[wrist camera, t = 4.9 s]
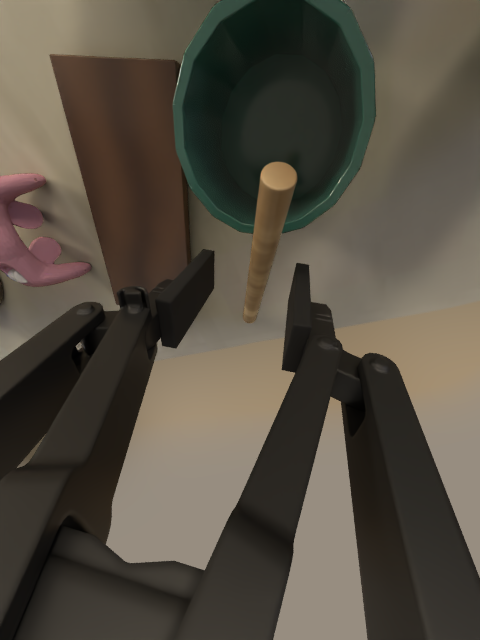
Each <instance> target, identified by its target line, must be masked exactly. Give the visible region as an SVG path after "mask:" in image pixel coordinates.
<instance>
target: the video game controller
mask: <svg viewBox="0 0 480 640" xmlns="http://www.w3.org/2000/svg"><path fill="white" fill-rule="evenodd" d="M45 183H46V179H45V177H43V176H41V175H39V174H33V173H24V174H13V175H5V176H0V270H2V271H3V272H4V273H5V274H6V275H7V276H8V277H9V278H11V279H12V280H14V281H17V282H19V283H21V284H23V285H26V286H32V287H41V286H48V285H53V284H57V283H61V282H64V281H68V280H71V279H74V278H77V277H80V276H82V275H84V274H86V273H88V272H89V271H90V270H91V265H90V264H89V263H84V262H74V263H64V264H58V265H56V264H54V261H55V260H56V259H57V258H58V256H59V255H60V254H61V247H60V245H59V244H58V242H56V241H55V240H54V239H52V238H49V237H38V238H36V239H35V240H33V241H32V243H31V244H30V246H29V248H27V247H26V246H25V244H24V243H23V241H22V240H21V239H20V237H19V235H18V233H17V232H16V230H15V228H14V226H13V225H16V226H19V227H22V228H27V229H35V228H38V227H40V226H41V225H42V223H43V216H42V213H41V212H40V210H39V209H38V208H36V207H35V206H33V205H30V204H26V203H21V202H17V201H15V198H17V197H18V196H20V195H22V194H25V193H28V192H30V191H33V190H35V189H37V188H39V187H42V186H43V185H44V184H45Z"/></svg>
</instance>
